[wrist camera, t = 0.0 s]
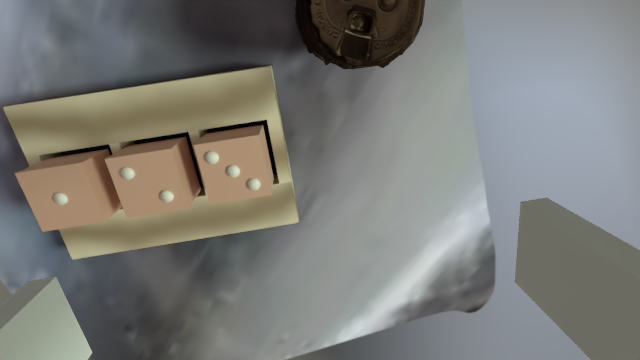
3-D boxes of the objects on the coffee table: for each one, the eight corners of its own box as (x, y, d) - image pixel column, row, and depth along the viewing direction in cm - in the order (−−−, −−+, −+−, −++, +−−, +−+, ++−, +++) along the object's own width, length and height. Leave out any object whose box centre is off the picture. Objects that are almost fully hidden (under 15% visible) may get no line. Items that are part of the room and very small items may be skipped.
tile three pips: (205, 133, 34) (192, 145, 29) (262, 124, 34) (258, 135, 29) (219, 186, 36) (209, 205, 31) (273, 178, 36) (271, 195, 31)
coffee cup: (327, 85, 36) (346, 102, 23) (274, 13, 33) (265, -10, 21) (398, 29, 34) (457, 16, 22) (349, -51, 32) (385, -115, 19)
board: (26, 102, 34) (2, 107, 31) (271, 65, 34) (269, 66, 32) (87, 244, 39) (72, 259, 37) (298, 210, 40) (298, 222, 37)
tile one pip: (49, 158, 33) (12, 173, 29) (108, 148, 33) (80, 163, 29) (72, 210, 35) (40, 232, 31) (127, 201, 35) (104, 222, 31)
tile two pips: (128, 145, 34) (103, 159, 29) (185, 136, 34) (170, 149, 29) (146, 198, 35) (125, 219, 31) (201, 189, 36) (188, 209, 31)
